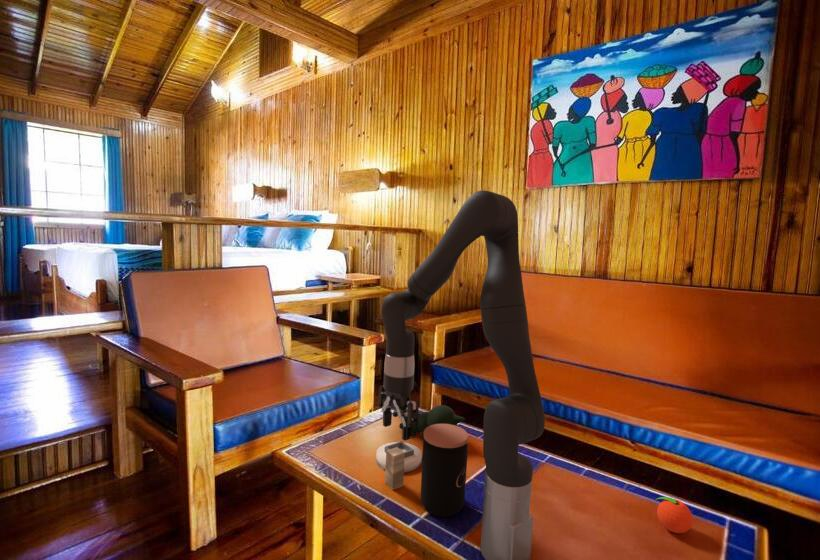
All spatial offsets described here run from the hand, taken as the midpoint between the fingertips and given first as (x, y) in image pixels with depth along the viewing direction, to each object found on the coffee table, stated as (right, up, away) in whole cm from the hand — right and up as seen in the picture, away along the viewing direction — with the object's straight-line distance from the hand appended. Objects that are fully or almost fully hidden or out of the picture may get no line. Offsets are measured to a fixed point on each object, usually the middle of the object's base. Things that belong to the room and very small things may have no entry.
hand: (396, 432), depth 110 cm
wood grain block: (-1, -14, +1) cm, 14 cm away
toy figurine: (+9, -11, +29) cm, 32 cm away
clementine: (+63, -18, -11) cm, 67 cm away
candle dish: (0, -13, +13) cm, 18 cm away
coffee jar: (+11, -16, -6) cm, 20 cm away
